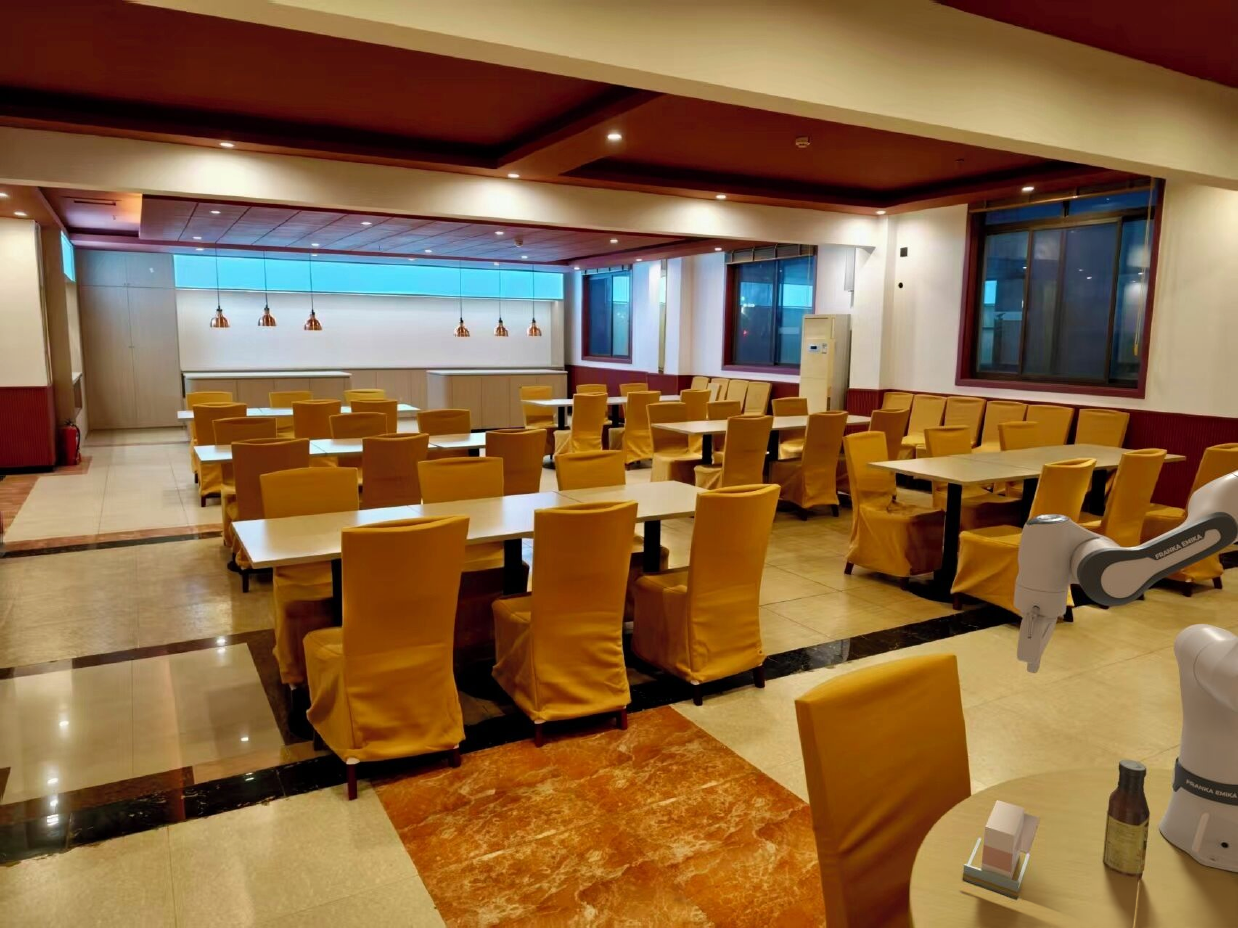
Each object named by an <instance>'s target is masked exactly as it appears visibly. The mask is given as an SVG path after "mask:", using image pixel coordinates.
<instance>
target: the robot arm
mask: <svg viewBox="0 0 1238 928" xmlns="http://www.w3.org/2000/svg"><path fill="white" fill-rule="evenodd" d="M1237 542H1238V469H1237V470H1234V471H1233V472H1230V473H1228V474H1224V475H1223V476H1220V477H1218V478H1215V479H1214V480H1212V481H1209V482H1208V483H1206V484H1205V485H1203V486H1202V487H1199V488H1198V489H1197V490H1195V491H1194V492H1192V494H1191V497H1190V499H1189V501H1188V505H1187V518H1186V519H1185V520H1184V521H1183V522H1182V524H1180V525H1179V526H1177V527H1175V528H1173V529H1170V530H1169V531H1167V532H1164V533H1163V534H1161V535H1159V536H1156V537H1154V538H1152V539H1150V540H1148V541H1146V542H1144V543H1141V544H1140V545H1137V546H1131V547H1125V546H1124V547H1123V546H1121V545H1119V544H1118V543H1117V542H1115V541H1114V540H1113V539H1111V538H1109V537H1107V536H1105V535H1102V534H1098V533H1096V532H1093V531H1091V530H1090V529H1089V530H1088V529H1087V528H1085V527H1083V526H1081V525H1079V524H1077V523H1076V522H1074V520H1072V519H1071V518H1070V517H1069V516H1068V515H1067V516H1066V515H1064V514H1055V513H1053V514H1052V513H1050V514H1040V515H1036V516H1033V517H1031V518H1030V519H1028V520H1027V521H1026V522H1025V524H1024V525H1023V528H1022V532H1021V534H1020V541H1019V547H1018V555H1017V563H1018V569H1019V570H1018V574H1017V576H1016V578H1015V585H1014V596H1013V607H1014V608H1015V609H1017V610H1019V616H1021V618H1022V619H1021V623H1020V628H1019V632H1018V633H1019V634H1018V640H1017V650H1016V659H1017V660H1018V661H1020V662H1023V663H1027V665H1026V671H1027V673H1032V674H1037V673H1038V671H1039V669H1040V665H1041V659H1042V656H1043V654H1044V651H1045V650H1046V648H1047V646H1048V644H1049V642H1050V640H1051V638H1052V635H1053V633H1054V631H1055V627H1056V624H1057V621H1058V617H1060V616H1063V615H1066V612H1067V605H1068V604H1067V602H1068V596H1069V595H1068V592H1069V586H1070V585H1071V584H1075V585H1076V584H1077V585H1080V587H1081V589H1082V590H1083V592H1084V593H1085V595H1086V596H1087V597H1088V598H1089V599H1091V600H1092V601H1093V602H1095V603H1097V604H1099V605H1102V606H1107V607H1121V606H1125V605H1128V604H1130V603H1132V602H1134V601H1136V600H1137V599H1138V598H1139V597H1141V596H1142V595H1143V594H1144V593H1145V592H1146V591H1148V590H1149V588H1151V587H1152V586H1153V585H1154V584H1155V583H1157V582H1158V581H1160V580H1162V579H1164V578H1166V577H1168V576H1171V575H1172V574H1175V573H1176V572H1178V571H1180V570H1183V569H1185V568H1187V567H1189V566H1192V565H1193V564H1195V563H1197V562H1200V561H1203V560H1204V559H1206V558H1208V557H1211V556H1212V555H1214V554H1216V553H1219V552H1220V551H1222V550H1223V549H1225V548H1227V547H1228V546H1229V547H1230V546H1231V545H1232V544H1234V543H1237ZM1173 651H1174V656H1175V659H1176V662H1177V666H1178V667H1177V668H1178V675H1179V686H1180V695H1181V696H1180V697H1181V706H1182V725H1181V726H1182V727H1181V737H1180V744H1179V751H1178V753H1179V754H1178V756H1177V757H1176V758H1175V762H1174V765H1173V771H1172V779H1171V785H1172V786H1171V787H1172V792H1171V797H1170V800H1169V802H1168V805H1167V808H1166V811H1165V813H1164V814H1163V817H1162V818H1161V821H1160V822H1159V825H1158V828H1159V831H1160V833H1161V835H1162V836H1163V837H1165V839H1166V840H1168V841H1169V842H1170V843H1171V844H1172V845H1174V846H1176V848H1179V849H1180V850H1181V851H1182V850H1183V851H1184V852H1185V853H1187V854H1189V855H1190V856H1191V858H1193V860H1195V861H1196V862H1197V863H1199V864H1201V865H1202V866H1205V867H1212V868H1215V869H1218V870H1219V869H1220V870H1225V871H1230V872H1233V873H1238V635H1236V634H1234V633H1233V632H1231V631H1230V630H1227V629H1224V628H1222V627H1220V626H1219V627H1218V626H1215V625H1211V624H1207V623H1196V624H1192V625H1190V626H1189V625H1188V626H1187V627H1185V628H1184V629H1183V630H1181V631H1180V632H1179V633H1178V634H1177V636H1176V637H1175V640H1174V643H1173Z"/></svg>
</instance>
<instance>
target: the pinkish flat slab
mask: <svg viewBox="0 0 1238 928" xmlns="http://www.w3.org/2000/svg"><path fill="white" fill-rule="evenodd" d="M1040 820H1041V818H1040V817H1037V816H1034V815H1031V814H1027V813H1025V812H1024V820H1023V830H1022V840H1021V850H1020V853H1025V854H1027V853H1028V854H1030V850H1031V847H1032V844H1033V842H1034V841H1033V840H1034V838H1035V835H1036V832H1037V829H1038V827H1039V823H1040Z"/></svg>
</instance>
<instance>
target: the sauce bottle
mask: <svg viewBox="0 0 1238 928" xmlns="http://www.w3.org/2000/svg"><path fill="white" fill-rule="evenodd" d="M1118 772H1119V775H1118V781H1117V787H1116V788H1115V789H1114V790H1113V791H1112V792H1111V793H1110V795H1109V799H1108V805H1107V806H1108V808H1107V811H1106V820H1105V830H1104V840H1103V841H1104V842H1103V853H1102V855H1103V856H1102V861H1103V862H1104V864H1105V866H1107V867H1108V868H1109V869H1110V870H1112V871H1114V872H1116V873H1119V874H1121V875H1123V876H1129V877H1137V876H1138V880H1137V882H1138V881H1141V880H1142V877H1143V873H1144V871H1145V864H1146V855H1147V849H1148V848H1147V847H1148V837H1149V825H1150V815H1151V812H1150V809H1149V805H1148V801H1147V798H1146V794H1145V789H1144V787H1145V777H1146V776H1147V767H1146V765H1144V763H1141V762H1140V761H1136V760H1132V759H1121V760H1120V761H1119V762H1118Z"/></svg>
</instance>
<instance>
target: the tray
mask: <svg viewBox="0 0 1238 928" xmlns="http://www.w3.org/2000/svg"><path fill="white" fill-rule="evenodd" d="M982 839H983V838H981V837H978V839H977V840H976V843H975V846H974V848H973V850H972V852H971V854H970V857H969V859H968V861H967V863H964V864H963V873H962V874H965V875H967V876H970V877H973V878H976V879H979V880H981V881H985V882H987V883H990V884H993V885H996V886H999V887H1001V888H1003V889H1007V890H1010V891H1013V892H1016V893H1018V892H1019V889H1020V886H1021V883H1022V879H1023V878H1024V877H1023V876H1024V874H1025V871H1026V868H1027V864H1028V862H1029V859H1030V856H1031V854H1030V853H1029V854H1028V853H1025V858H1024V860H1023V864H1022V867H1021V870H1020V871H1019V872H1020V873H1019V876H1018V878H1017V880H1014V879H1012V880H1011V879H1009V878H1006V877H1003V876H1000V875H997V874H994V873H991V872H988V871H985V870H982V869H981V868H979V867H977V866H972V862H973V860H974V858H975V855H976V853H977V852H978V851H977V850H978V849H979V846H980V843H981V841H982ZM962 882H965V883H968V884H970V885H972V886H976V887H978V888H981V889H984V890H986V891H990V892H993V893H995V894H998V895H1000V896H1004V897H1006V898H1009V899H1012V900H1015V901H1018V898H1019V896H1017V895H1014V894H1011V893H1008V892H1005V891H1003V890H999V889H997V888H994V887H990V886H987V885H985V884H982V883H979V882H977V881H975V880H974V881H973V880H972V879H968V878H966V877H962Z"/></svg>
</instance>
